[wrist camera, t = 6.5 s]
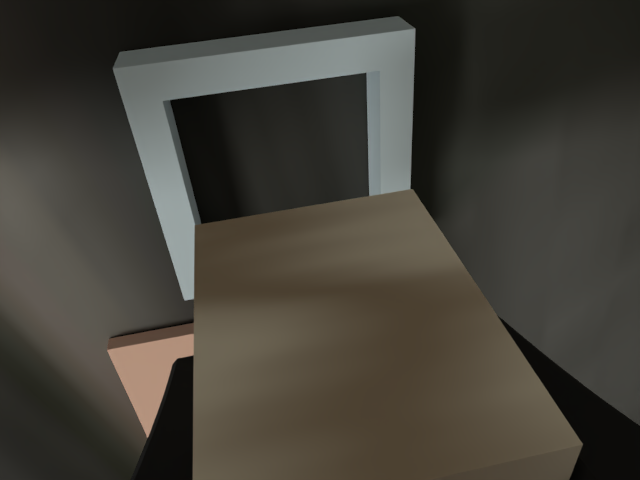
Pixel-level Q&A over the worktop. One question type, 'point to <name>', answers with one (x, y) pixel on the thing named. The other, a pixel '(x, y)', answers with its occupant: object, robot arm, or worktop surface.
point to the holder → (260, 71)
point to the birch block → (358, 355)
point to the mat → (149, 365)
